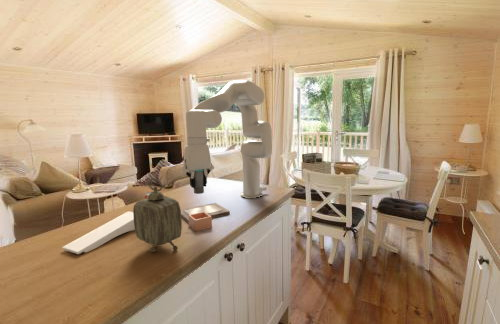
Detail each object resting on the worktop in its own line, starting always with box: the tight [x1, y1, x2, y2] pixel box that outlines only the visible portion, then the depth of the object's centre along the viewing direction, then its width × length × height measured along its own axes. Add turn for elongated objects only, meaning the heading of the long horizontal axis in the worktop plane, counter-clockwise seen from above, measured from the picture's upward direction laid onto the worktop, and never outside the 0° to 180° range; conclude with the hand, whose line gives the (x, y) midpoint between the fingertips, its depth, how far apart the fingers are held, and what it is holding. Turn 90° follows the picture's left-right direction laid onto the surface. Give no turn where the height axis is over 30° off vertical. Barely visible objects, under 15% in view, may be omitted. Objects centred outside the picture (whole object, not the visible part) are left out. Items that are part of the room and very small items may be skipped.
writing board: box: [180, 202, 231, 224], centre depth 129 cm, size 20×15×2 cm
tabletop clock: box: [132, 177, 183, 253], centre depth 93 cm, size 14×9×25 cm, turn 56°
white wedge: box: [61, 210, 135, 255], centre depth 105 cm, size 10×7×28 cm
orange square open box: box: [188, 212, 213, 232], centre depth 114 cm, size 7×7×4 cm
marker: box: [193, 169, 205, 195], centre depth 111 cm, size 4×4×10 cm
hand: (198, 186), depth 112 cm, fingers closed on marker, 4 cm apart
